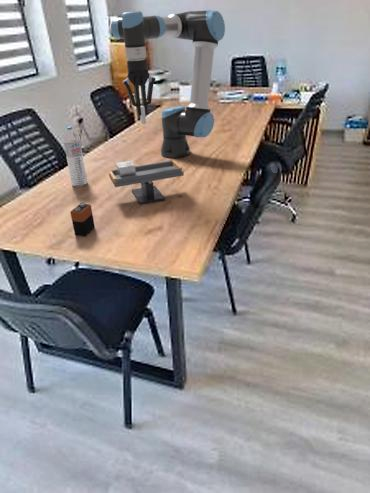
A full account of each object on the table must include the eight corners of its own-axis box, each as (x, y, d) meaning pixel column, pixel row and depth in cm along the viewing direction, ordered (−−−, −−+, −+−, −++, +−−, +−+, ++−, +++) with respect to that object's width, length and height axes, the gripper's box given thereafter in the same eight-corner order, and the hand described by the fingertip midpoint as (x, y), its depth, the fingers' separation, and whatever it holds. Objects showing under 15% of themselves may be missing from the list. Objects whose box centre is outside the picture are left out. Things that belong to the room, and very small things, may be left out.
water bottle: (72, 188, 173) (60, 129, 160) (71, 182, 179) (60, 125, 166) (88, 186, 175) (78, 128, 162) (87, 180, 180) (77, 124, 168)
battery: (95, 227, 140) (90, 201, 135) (85, 237, 135) (80, 210, 130) (84, 226, 141) (79, 200, 136) (74, 235, 136) (68, 209, 131)
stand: (155, 188, 169) (153, 172, 166) (165, 200, 158) (163, 183, 154) (132, 192, 166) (130, 176, 163) (140, 205, 155) (138, 188, 151)
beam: (174, 168, 167) (173, 159, 165) (183, 178, 157) (183, 168, 155) (109, 179, 160) (108, 170, 157) (115, 190, 150) (114, 180, 148)
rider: (132, 172, 158) (131, 160, 156) (136, 177, 153) (134, 165, 151) (117, 175, 157) (115, 162, 154) (120, 180, 152) (119, 167, 149)
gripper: (122, 62, 145) (130, 127, 158) (156, 58, 149) (161, 122, 162) (117, 60, 151) (125, 123, 164) (150, 56, 155) (155, 118, 168)
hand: (143, 122), depth 163 cm, fingers closed
